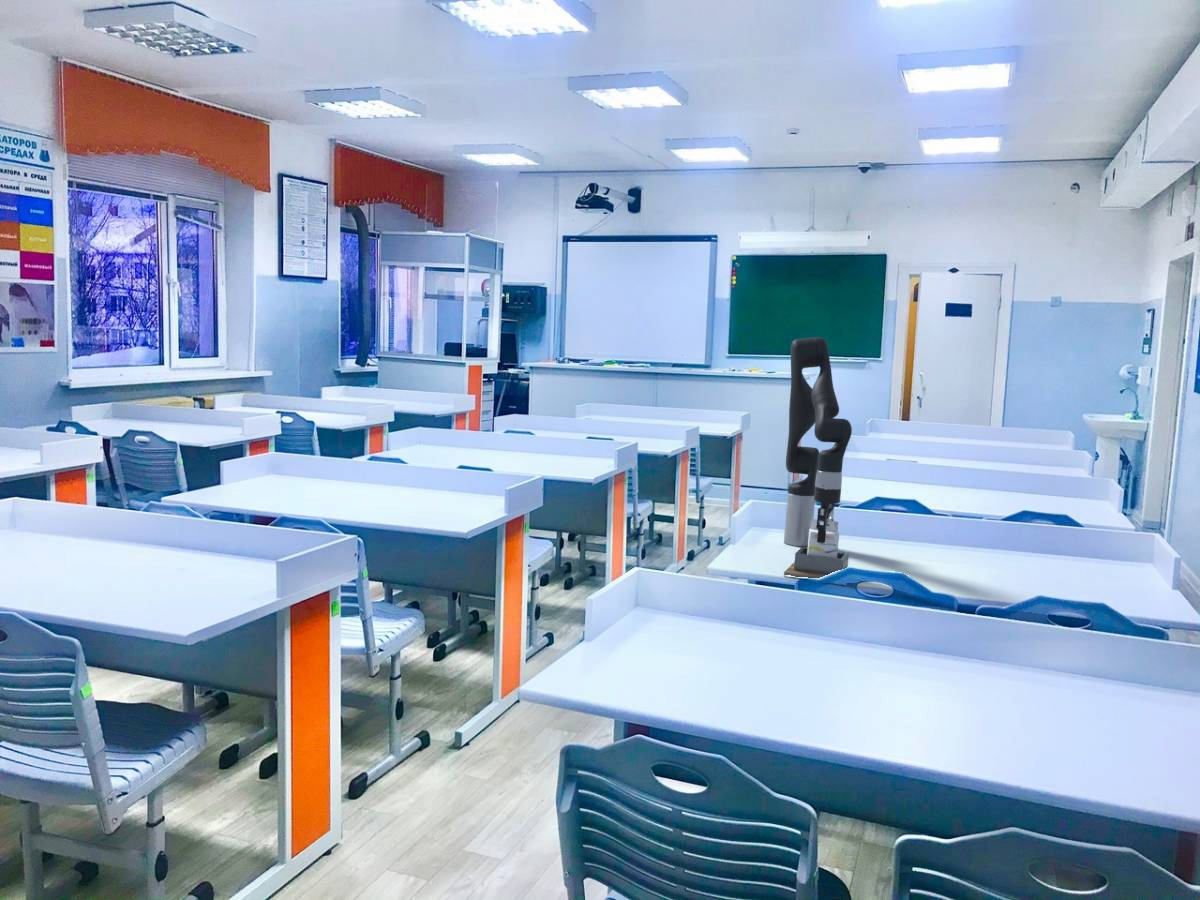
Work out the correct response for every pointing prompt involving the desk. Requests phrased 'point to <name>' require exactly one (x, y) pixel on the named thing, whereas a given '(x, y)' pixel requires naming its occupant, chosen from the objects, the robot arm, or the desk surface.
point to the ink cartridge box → (831, 540)
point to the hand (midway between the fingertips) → (823, 539)
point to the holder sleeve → (819, 562)
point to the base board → (801, 573)
